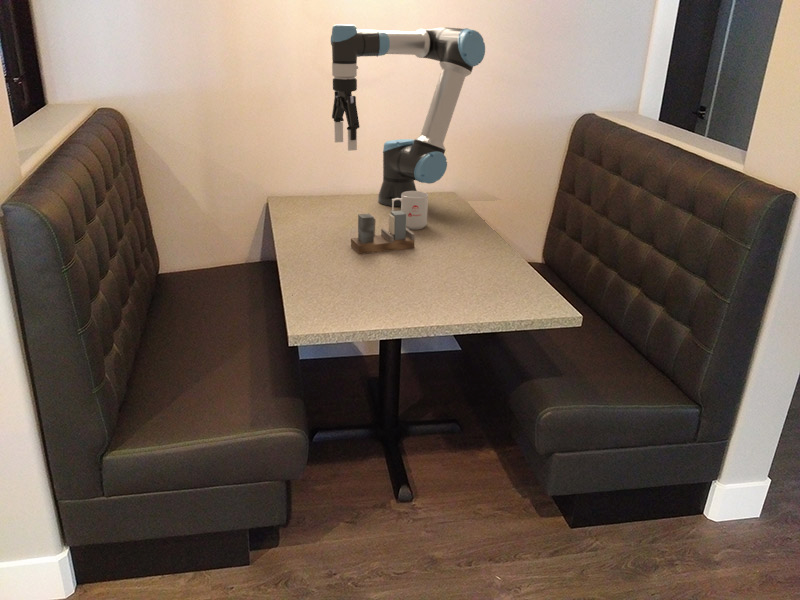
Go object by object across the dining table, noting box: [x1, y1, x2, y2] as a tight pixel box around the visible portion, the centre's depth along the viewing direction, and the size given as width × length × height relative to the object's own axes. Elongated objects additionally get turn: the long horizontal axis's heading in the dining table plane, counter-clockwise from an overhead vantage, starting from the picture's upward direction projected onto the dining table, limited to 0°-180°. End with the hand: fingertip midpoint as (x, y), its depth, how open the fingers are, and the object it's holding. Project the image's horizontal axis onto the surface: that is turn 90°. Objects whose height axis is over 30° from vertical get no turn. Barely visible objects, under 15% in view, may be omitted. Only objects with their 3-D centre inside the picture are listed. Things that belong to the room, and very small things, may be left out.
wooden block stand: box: [350, 213, 416, 255], centre depth 217 cm, size 18×8×10 cm, turn 112°
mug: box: [391, 190, 429, 230], centre depth 237 cm, size 12×9×11 cm
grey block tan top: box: [388, 210, 406, 240], centre depth 219 cm, size 4×4×8 cm
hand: (345, 146), depth 229 cm, fingers open, 13 cm apart
